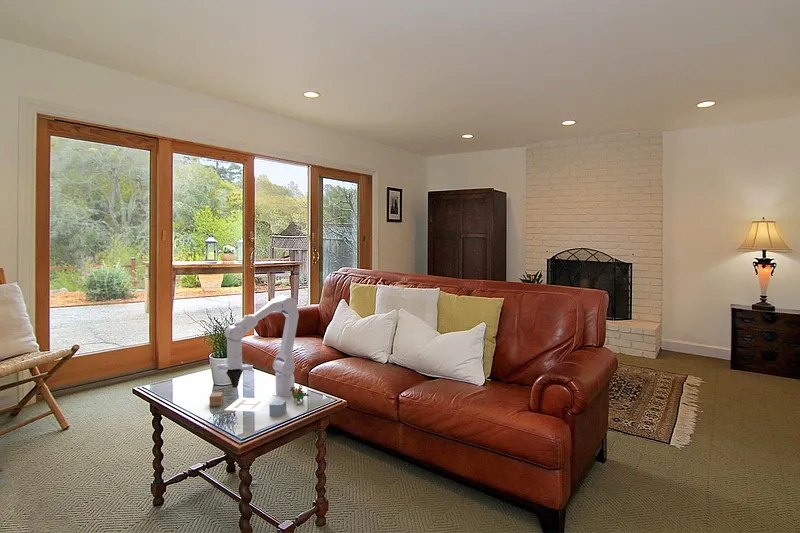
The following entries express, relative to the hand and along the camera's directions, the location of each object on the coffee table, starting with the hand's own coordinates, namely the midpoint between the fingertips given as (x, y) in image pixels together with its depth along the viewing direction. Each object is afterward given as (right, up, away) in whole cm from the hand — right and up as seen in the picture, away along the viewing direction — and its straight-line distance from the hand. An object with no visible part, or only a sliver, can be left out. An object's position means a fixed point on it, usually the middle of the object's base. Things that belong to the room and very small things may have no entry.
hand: (235, 386), depth 184 cm
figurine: (+26, -8, +4) cm, 28 cm away
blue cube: (+20, -9, -8) cm, 23 cm away
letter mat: (+5, -8, +2) cm, 10 cm away
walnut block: (-9, -8, +3) cm, 12 cm away
